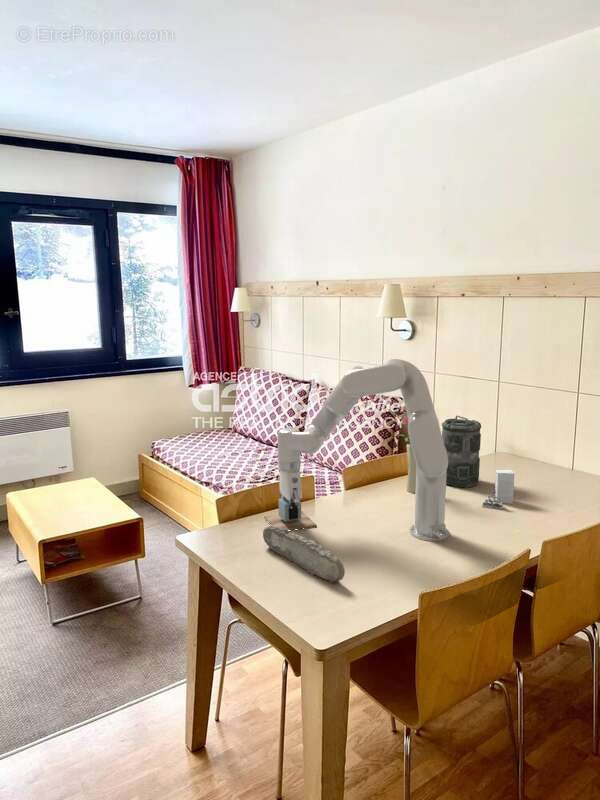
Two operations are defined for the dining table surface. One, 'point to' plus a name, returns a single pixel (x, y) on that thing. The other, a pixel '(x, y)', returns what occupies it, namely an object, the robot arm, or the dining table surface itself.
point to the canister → (462, 451)
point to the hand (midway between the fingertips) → (289, 514)
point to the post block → (291, 522)
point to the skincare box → (504, 486)
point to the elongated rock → (304, 553)
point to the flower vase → (410, 462)
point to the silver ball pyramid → (491, 504)
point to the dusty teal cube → (287, 509)
